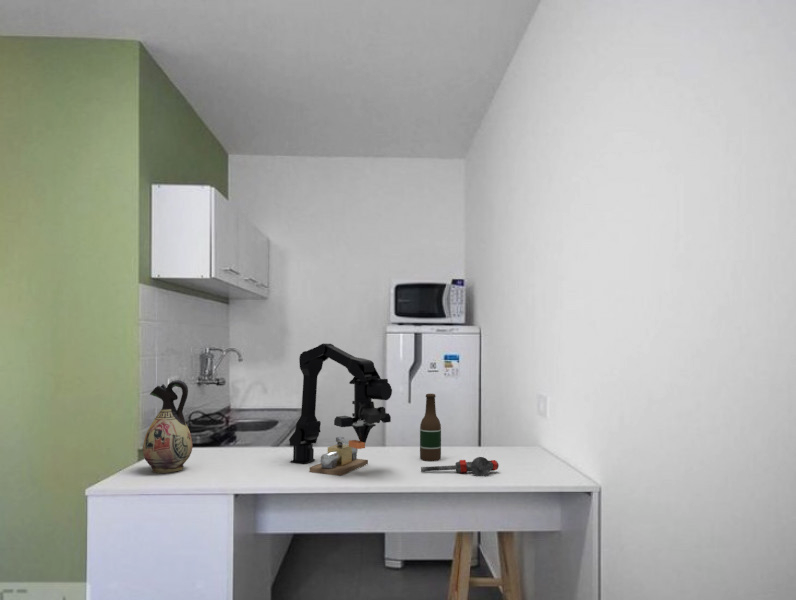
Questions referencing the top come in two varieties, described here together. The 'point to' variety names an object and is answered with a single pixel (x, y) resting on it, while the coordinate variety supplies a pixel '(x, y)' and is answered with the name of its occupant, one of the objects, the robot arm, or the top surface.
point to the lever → (351, 442)
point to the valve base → (339, 468)
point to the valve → (469, 466)
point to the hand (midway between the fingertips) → (363, 445)
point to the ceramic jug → (168, 432)
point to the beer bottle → (430, 432)
